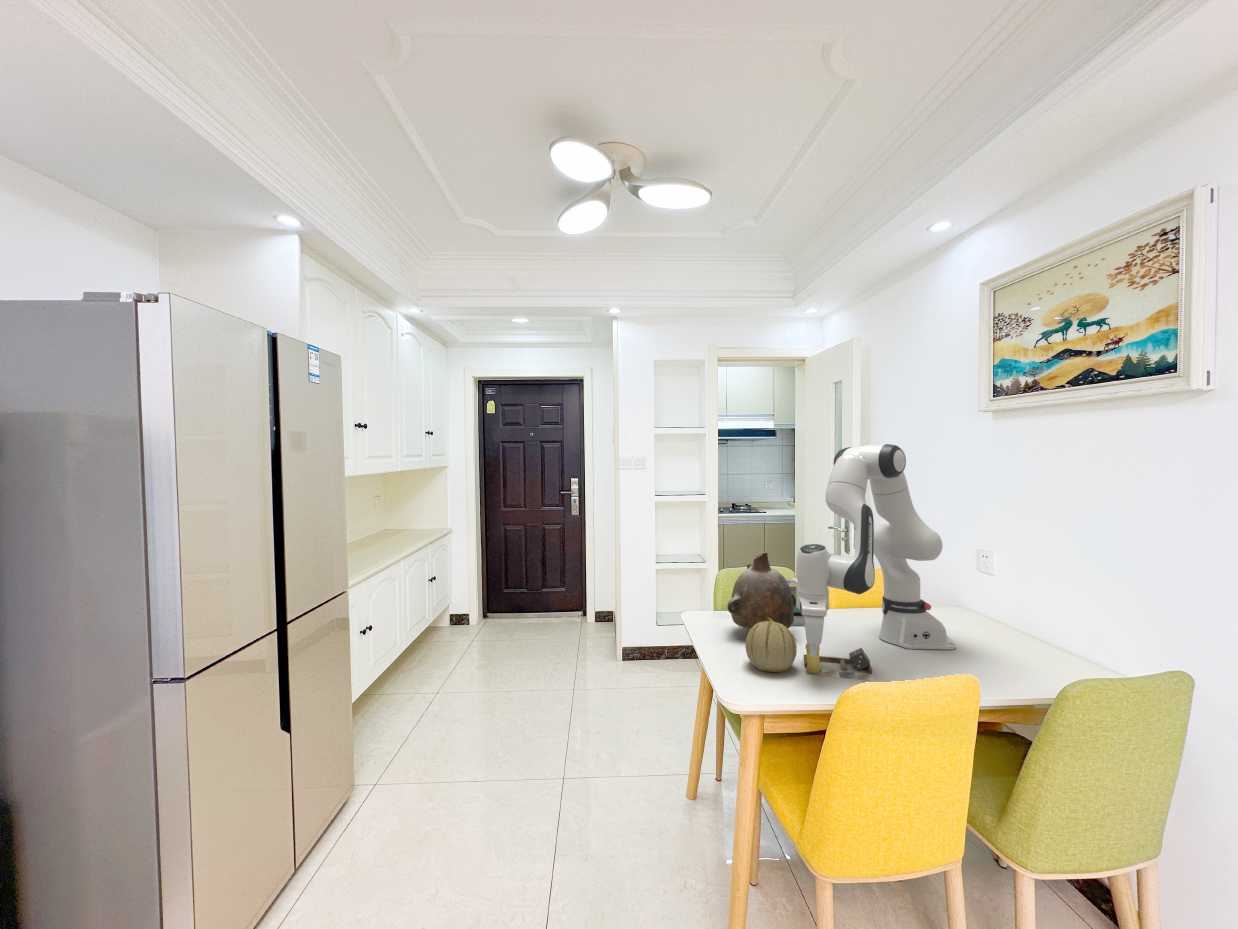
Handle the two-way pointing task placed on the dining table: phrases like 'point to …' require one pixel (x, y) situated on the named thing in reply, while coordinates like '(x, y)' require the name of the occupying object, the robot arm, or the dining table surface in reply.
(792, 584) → the tea box
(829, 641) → the dining table surface
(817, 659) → the pawn
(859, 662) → the die
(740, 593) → the jug
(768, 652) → the cantaloupe
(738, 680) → the dining table surface
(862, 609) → the dining table surface
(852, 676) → the board
